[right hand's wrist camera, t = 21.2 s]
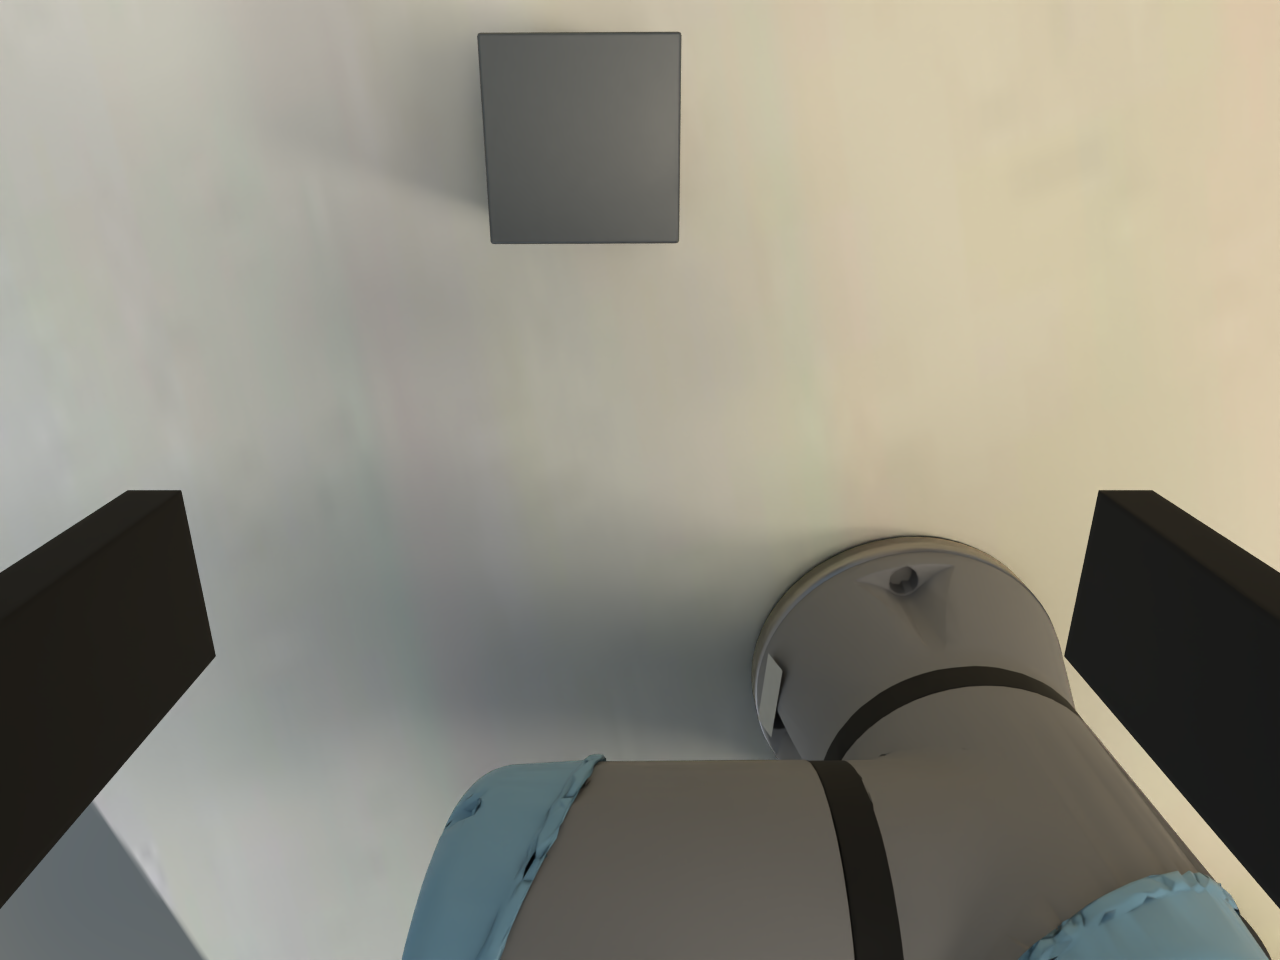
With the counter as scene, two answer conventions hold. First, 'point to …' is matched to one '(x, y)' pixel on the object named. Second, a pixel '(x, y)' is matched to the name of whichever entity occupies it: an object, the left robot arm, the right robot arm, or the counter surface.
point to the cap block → (582, 136)
